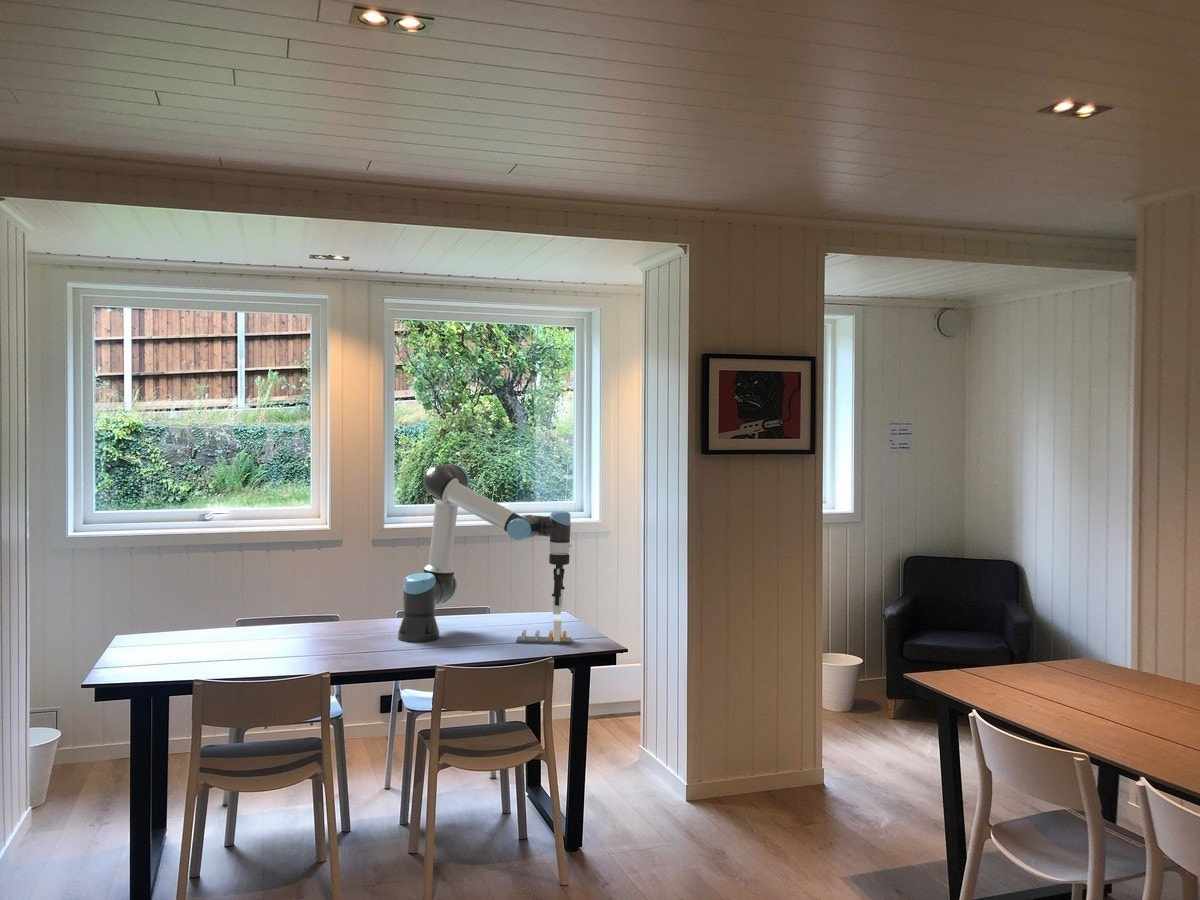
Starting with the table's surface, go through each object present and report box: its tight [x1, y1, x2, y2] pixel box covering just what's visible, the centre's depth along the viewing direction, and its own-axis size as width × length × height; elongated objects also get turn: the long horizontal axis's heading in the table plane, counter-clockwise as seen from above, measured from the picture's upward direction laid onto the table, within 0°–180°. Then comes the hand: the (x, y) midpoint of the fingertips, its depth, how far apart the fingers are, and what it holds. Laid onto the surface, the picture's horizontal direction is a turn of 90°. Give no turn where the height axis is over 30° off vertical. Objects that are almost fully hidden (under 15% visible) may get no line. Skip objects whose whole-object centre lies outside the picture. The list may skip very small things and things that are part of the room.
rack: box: [515, 629, 572, 645], centre depth 348 cm, size 20×7×4 cm, turn 90°
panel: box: [553, 616, 562, 641], centre depth 348 cm, size 2×8×8 cm, turn 0°
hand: (557, 610), depth 348 cm, fingers open, 13 cm apart
